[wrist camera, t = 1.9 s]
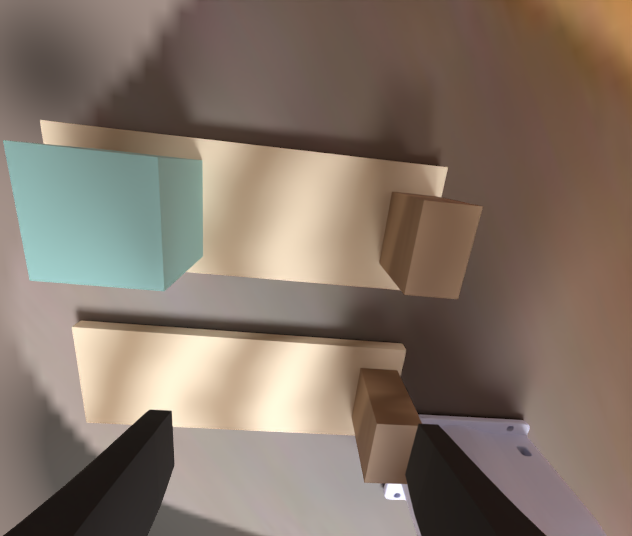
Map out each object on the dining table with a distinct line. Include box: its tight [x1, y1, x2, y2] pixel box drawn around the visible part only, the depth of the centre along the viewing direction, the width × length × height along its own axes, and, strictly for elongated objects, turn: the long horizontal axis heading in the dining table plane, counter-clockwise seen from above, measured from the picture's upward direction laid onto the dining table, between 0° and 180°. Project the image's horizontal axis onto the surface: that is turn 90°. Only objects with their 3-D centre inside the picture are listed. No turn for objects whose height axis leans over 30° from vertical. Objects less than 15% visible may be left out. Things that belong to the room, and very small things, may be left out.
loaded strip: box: [40, 120, 483, 299], centre depth 15 cm, size 20×7×5 cm, turn 84°
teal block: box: [3, 140, 203, 291], centre depth 14 cm, size 5×5×5 cm
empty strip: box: [72, 320, 422, 484], centre depth 18 cm, size 20×7×5 cm, turn 84°
